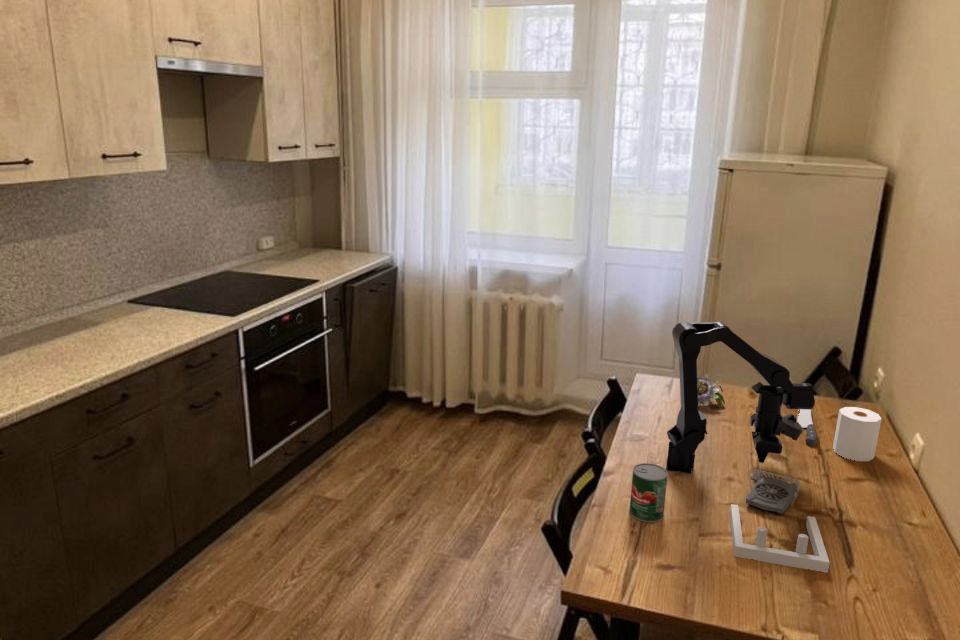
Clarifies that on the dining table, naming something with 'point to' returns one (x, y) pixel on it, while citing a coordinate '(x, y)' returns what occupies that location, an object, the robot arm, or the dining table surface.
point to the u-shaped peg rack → (781, 556)
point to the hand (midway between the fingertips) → (761, 462)
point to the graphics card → (772, 492)
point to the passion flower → (708, 391)
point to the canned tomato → (648, 492)
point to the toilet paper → (856, 433)
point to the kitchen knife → (807, 426)
